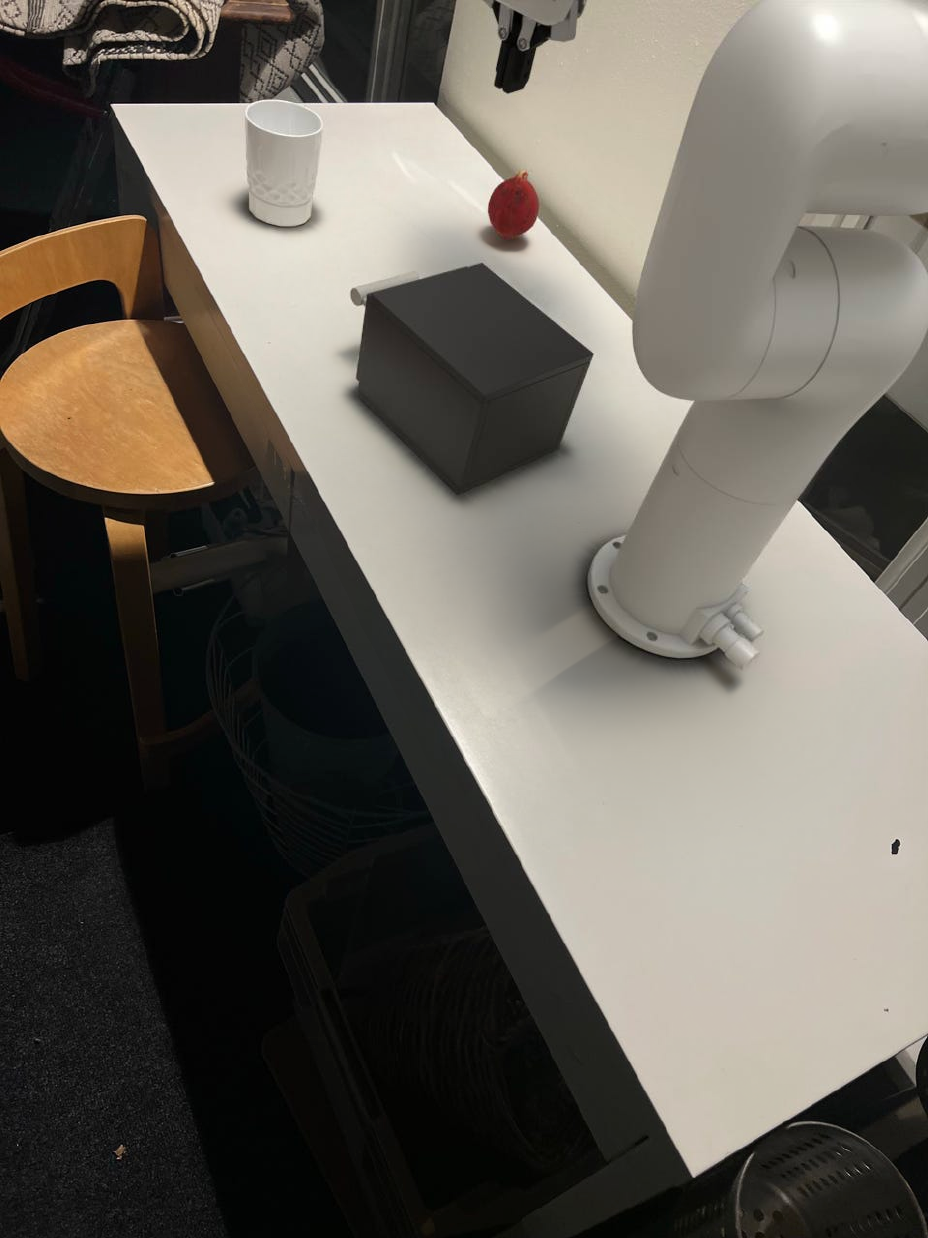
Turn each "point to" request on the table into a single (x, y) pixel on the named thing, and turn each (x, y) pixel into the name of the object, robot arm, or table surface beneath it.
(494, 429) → the dark grey box
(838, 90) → the robot arm
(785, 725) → the table surface
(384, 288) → the drawer
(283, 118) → the white cup
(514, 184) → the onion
